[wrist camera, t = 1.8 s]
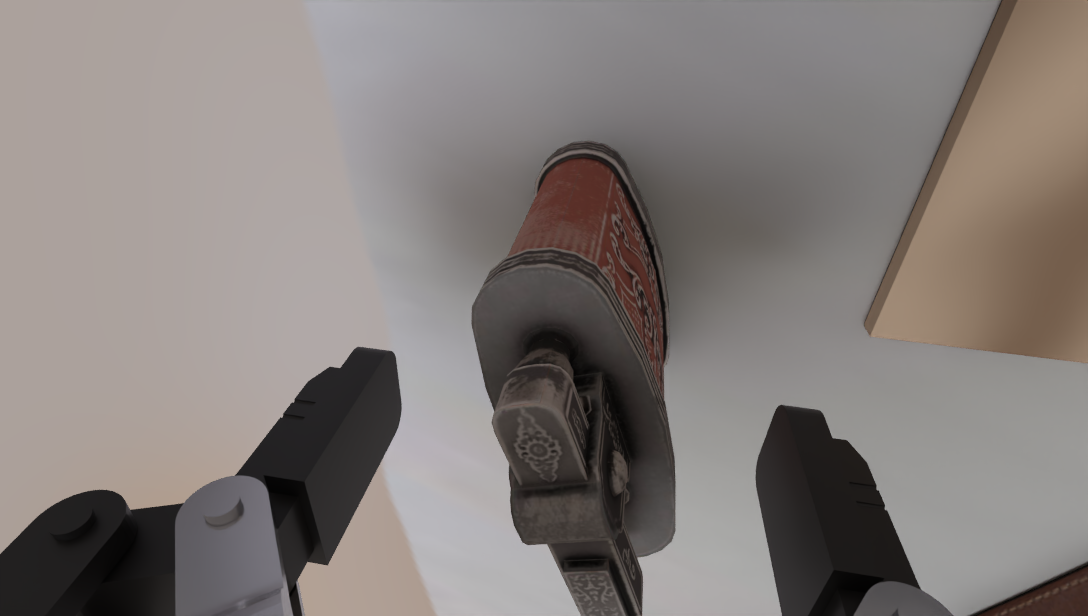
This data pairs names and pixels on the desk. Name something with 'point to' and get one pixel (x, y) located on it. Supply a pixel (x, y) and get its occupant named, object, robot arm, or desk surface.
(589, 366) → the lighter
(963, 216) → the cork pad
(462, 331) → the desk surface
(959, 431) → the desk surface
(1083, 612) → the letter holder
